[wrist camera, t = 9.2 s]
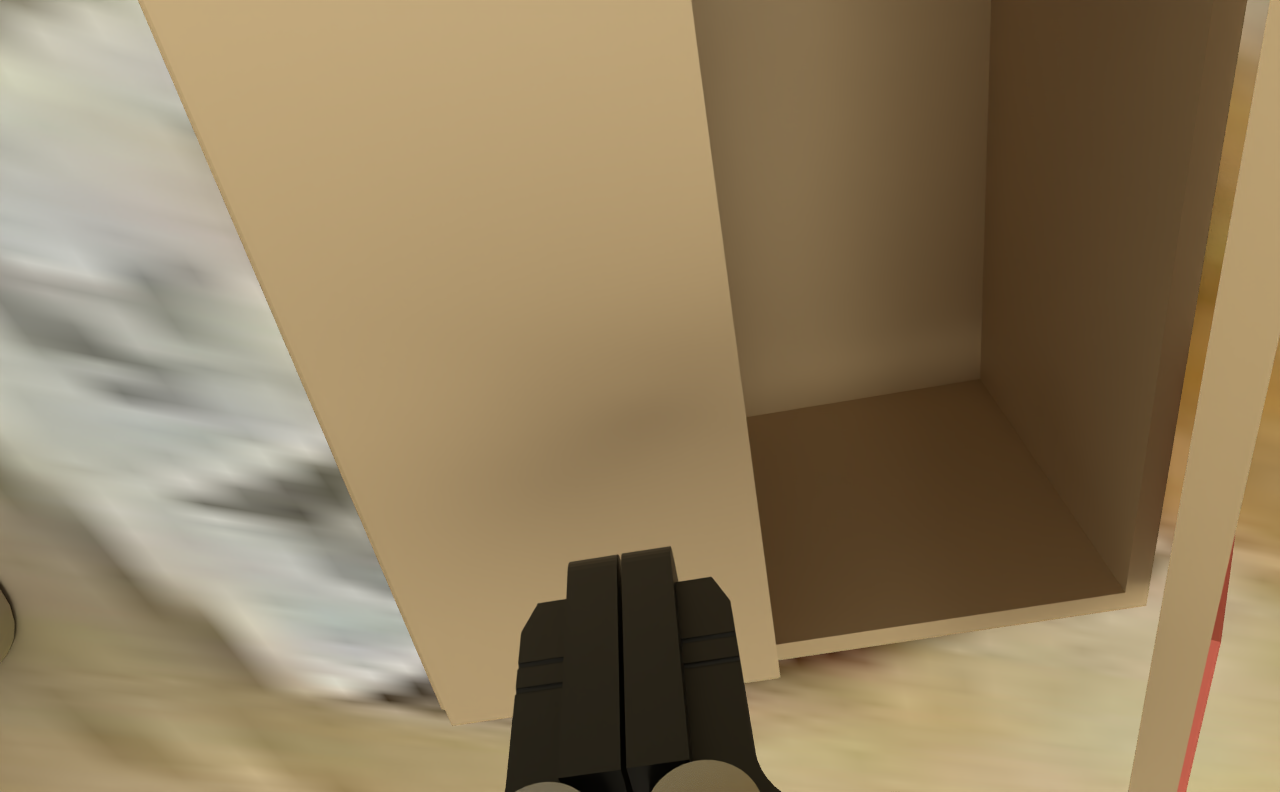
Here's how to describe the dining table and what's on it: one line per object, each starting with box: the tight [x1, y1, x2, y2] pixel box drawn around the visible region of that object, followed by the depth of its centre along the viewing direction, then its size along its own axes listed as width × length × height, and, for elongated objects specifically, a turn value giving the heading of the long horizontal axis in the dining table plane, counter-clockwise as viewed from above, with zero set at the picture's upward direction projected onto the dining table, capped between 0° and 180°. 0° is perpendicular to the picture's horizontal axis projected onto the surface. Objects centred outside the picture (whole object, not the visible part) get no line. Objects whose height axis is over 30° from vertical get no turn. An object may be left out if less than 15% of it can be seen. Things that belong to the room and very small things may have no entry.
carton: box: [138, 0, 1247, 726], centre depth 24 cm, size 19×20×12 cm
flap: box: [1128, 0, 1280, 792], centre depth 18 cm, size 19×18×1 cm
